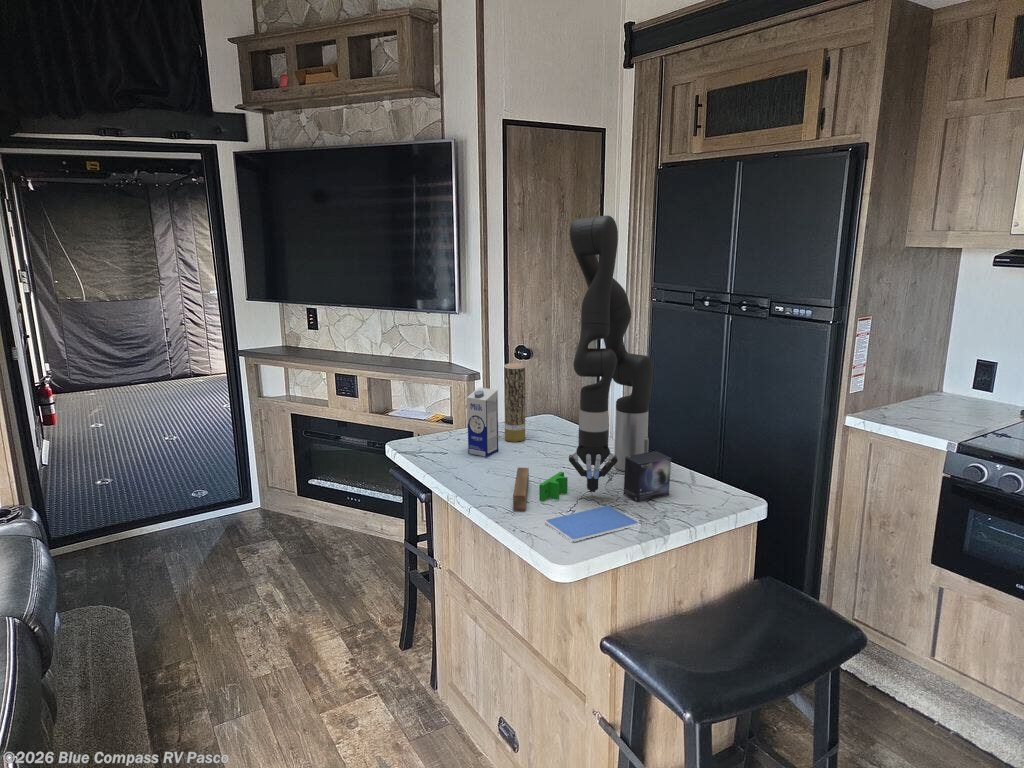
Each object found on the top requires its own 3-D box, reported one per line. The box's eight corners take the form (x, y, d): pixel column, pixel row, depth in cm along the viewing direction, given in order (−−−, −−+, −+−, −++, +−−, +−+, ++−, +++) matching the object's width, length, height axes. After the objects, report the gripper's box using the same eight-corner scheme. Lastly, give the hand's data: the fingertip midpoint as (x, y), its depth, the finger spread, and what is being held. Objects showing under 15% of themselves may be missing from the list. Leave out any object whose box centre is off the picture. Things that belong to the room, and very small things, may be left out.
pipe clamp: (552, 504, 171) (552, 487, 170) (539, 501, 173) (539, 484, 172) (572, 489, 180) (572, 473, 179) (560, 487, 182) (560, 471, 181)
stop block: (528, 481, 186) (528, 467, 185) (525, 510, 166) (525, 495, 165) (517, 481, 186) (517, 467, 185) (513, 510, 166) (513, 495, 166)
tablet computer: (608, 508, 169) (608, 503, 169) (641, 527, 158) (641, 522, 158) (542, 524, 160) (542, 519, 159) (572, 546, 149) (572, 540, 149)
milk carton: (498, 451, 211) (498, 389, 207) (486, 457, 205) (485, 393, 201) (480, 448, 215) (479, 386, 210) (467, 453, 209) (466, 390, 205)
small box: (637, 503, 171) (639, 463, 168) (622, 494, 176) (623, 456, 174) (670, 495, 176) (672, 457, 173) (654, 487, 181) (656, 450, 179)
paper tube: (528, 438, 225) (528, 364, 219) (520, 443, 219) (519, 367, 213) (510, 435, 228) (509, 362, 222) (501, 441, 222) (500, 366, 216)
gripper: (618, 422, 174) (616, 486, 178) (567, 422, 175) (566, 485, 179) (621, 431, 167) (619, 497, 171) (567, 430, 168) (566, 496, 171)
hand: (592, 491), depth 175 cm, fingers closed
